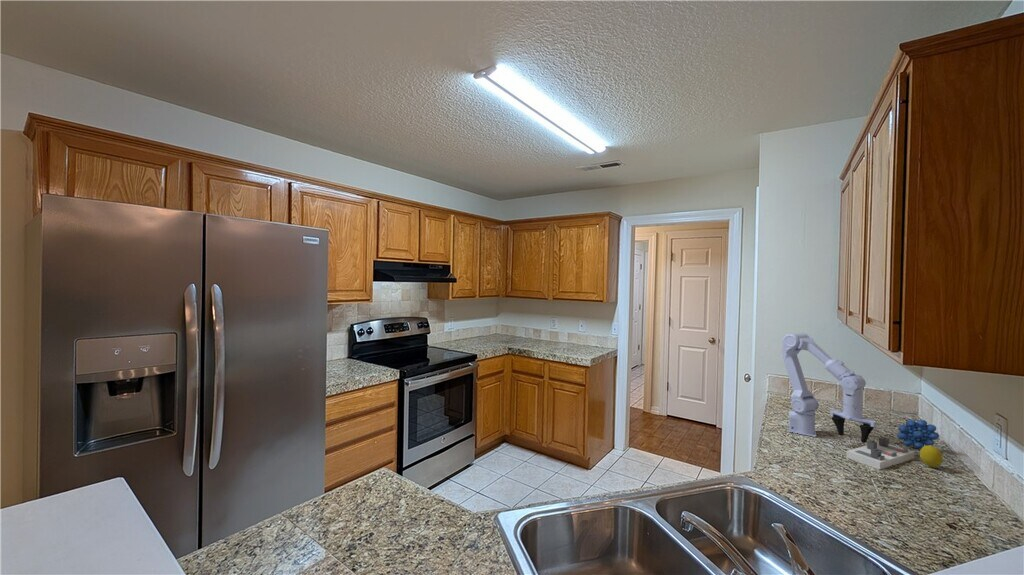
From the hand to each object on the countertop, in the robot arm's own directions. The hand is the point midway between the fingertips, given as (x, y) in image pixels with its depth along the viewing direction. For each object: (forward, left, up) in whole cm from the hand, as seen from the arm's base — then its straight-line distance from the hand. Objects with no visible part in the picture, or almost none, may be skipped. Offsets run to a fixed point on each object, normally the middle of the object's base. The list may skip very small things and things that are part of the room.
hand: (852, 438), depth 151 cm
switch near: (+5, -13, -1) cm, 14 cm away
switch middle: (+5, -3, -1) cm, 6 cm away
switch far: (+10, +4, -1) cm, 10 cm away
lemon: (+21, -3, -4) cm, 22 cm away
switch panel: (+8, -4, -4) cm, 10 cm away
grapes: (+21, +17, -4) cm, 27 cm away
